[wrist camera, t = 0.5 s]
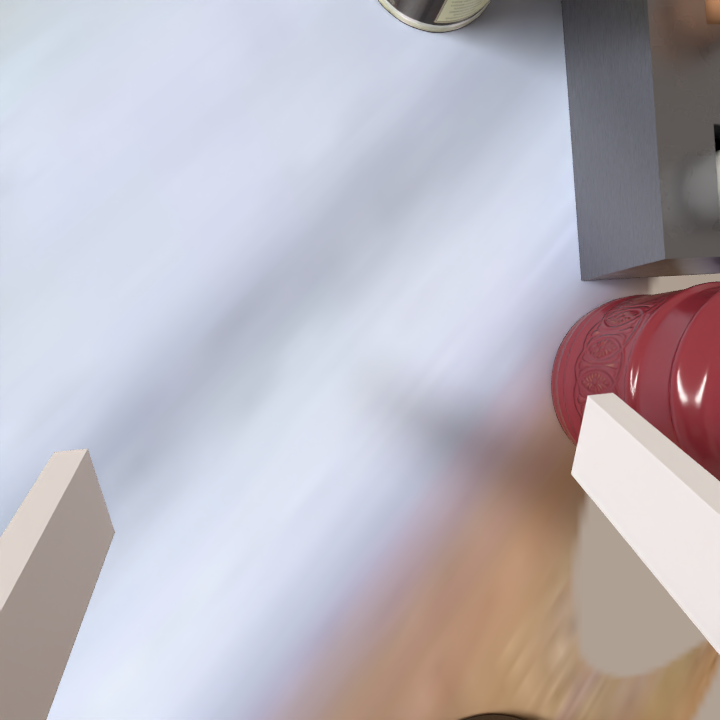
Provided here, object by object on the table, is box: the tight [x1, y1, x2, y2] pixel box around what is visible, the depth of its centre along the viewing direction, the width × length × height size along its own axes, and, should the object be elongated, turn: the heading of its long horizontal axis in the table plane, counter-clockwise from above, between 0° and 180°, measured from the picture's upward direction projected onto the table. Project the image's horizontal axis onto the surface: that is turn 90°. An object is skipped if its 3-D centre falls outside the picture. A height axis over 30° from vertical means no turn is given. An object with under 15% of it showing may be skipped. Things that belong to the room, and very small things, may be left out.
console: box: [562, 0, 720, 281], centre depth 35 cm, size 22×14×8 cm, turn 4°
